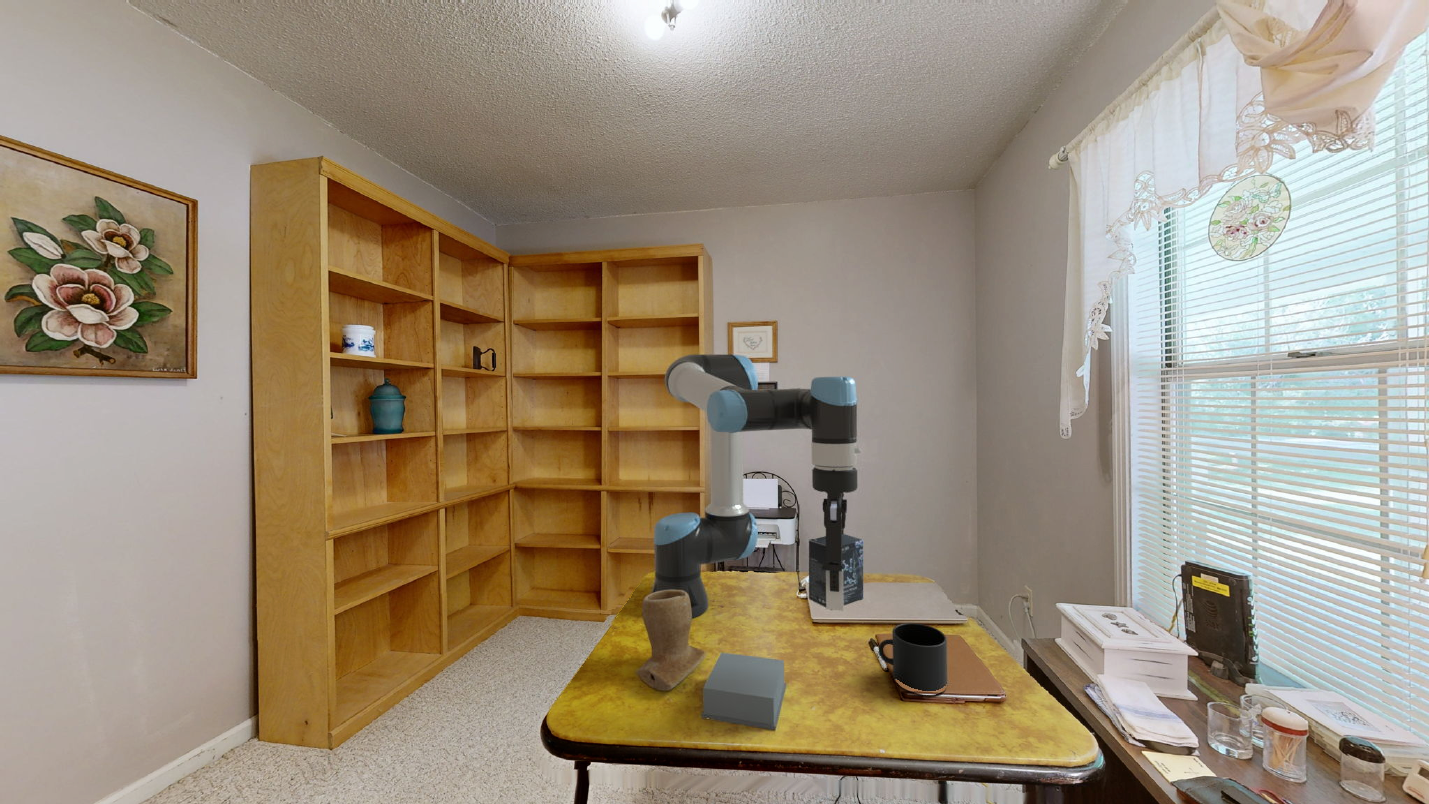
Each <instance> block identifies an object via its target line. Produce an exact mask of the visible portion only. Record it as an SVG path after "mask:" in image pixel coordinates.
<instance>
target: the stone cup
mask: <svg viewBox="0 0 1429 804" xmlns="http://www.w3.org/2000/svg"><path fill="white" fill-rule="evenodd" d="M641 605H642V606H641V607H642V610H641V611H642V621H643V625H644V628H645V629H646V633H647V636H648V640H649V642H650V647H651V654H650V655H651V656H650V657H649V658H648V659H647V660H646V661H645V662H644V663H643V664H642V665H641V666H640V667H639V668H638V669H636V675H637V676H638V677H640V679H642V681H643V683H644V682H645V683H646V684H647V686H650V687H651V688H653V689H655V690H658V691H662V692H665V691H667V692H668V691H671V690H672V689H673V688H675V687H676V686H678V685H679V684H681V682H682V681H683V680H685V679H686V678H687V677H688V676H689V675H690V674H691V673H693V671H694V670H696V668H698V666H699V665H700V664H701V663H703V661H704V659H705V658H706V656H707V655H706V651H705V650H702V649H700V648H699V647H695V646H692V645H690V644H689V639H690V631H691V626H692V619H693V618H692V611H691V603H690V598H689V595H688V594H687V592H685V591H683V590H663V591H657V592H654V593H651V592H650V593H649V594H648V595H646V596H645V597H644V598H643V601H642V604H641Z"/></svg>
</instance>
